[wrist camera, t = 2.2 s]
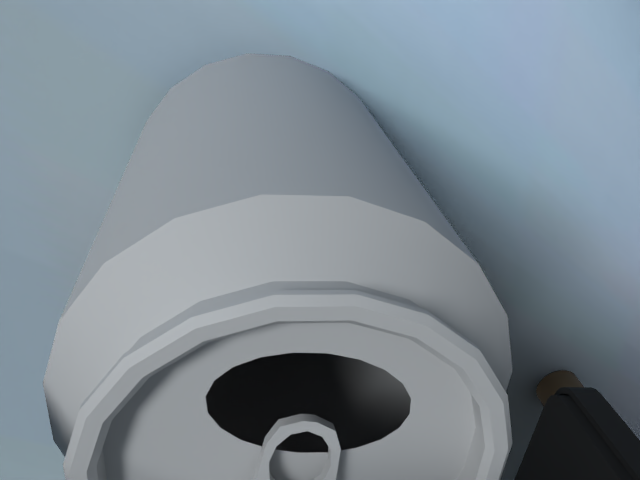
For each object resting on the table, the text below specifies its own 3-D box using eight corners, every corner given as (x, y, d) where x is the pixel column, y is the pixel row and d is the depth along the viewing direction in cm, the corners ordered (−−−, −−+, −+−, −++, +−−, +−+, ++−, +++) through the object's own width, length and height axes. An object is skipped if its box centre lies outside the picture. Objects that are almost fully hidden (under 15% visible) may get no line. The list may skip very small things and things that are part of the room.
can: (408, 77, 18) (664, 302, 7) (345, 283, 21) (458, 645, 10) (153, 19, 16) (0, 205, 5) (128, 254, 19) (4, 650, 9)
